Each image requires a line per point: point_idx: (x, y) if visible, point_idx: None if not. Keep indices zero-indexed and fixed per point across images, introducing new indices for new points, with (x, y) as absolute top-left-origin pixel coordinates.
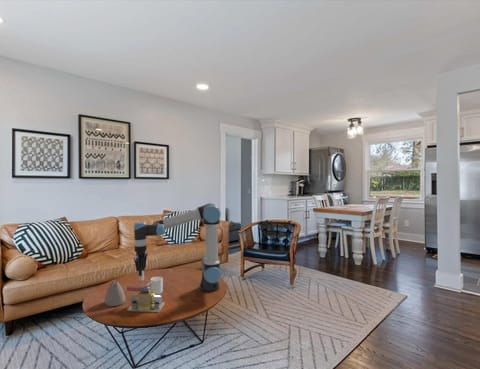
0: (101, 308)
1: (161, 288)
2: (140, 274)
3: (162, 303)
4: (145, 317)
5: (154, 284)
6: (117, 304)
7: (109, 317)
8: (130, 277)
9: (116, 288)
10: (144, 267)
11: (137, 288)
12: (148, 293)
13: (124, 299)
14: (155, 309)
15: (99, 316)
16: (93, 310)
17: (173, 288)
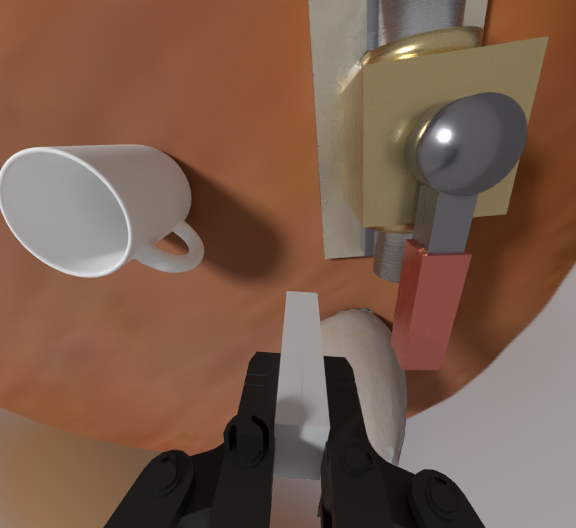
0: (411, 372)
1: (125, 145)
2: (355, 384)
3: (343, 6)
4: (567, 54)
5: (151, 204)
6: (387, 327)
7: (519, 295)
8: (59, 414)
9: (399, 419)
10: (193, 482)
11: (463, 262)
12: (505, 88)
13: (349, 319)
14: (466, 15)
15: (499, 342)
16: (432, 390)
17: (21, 84)
